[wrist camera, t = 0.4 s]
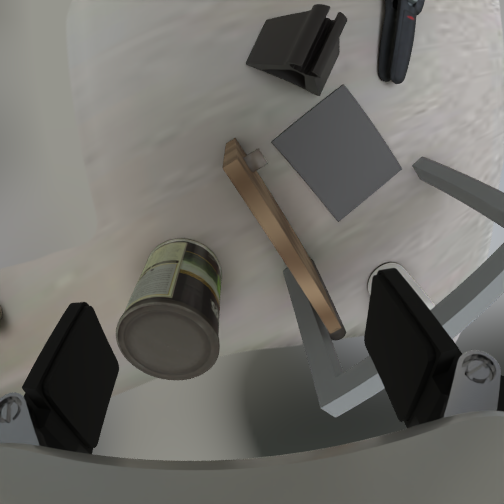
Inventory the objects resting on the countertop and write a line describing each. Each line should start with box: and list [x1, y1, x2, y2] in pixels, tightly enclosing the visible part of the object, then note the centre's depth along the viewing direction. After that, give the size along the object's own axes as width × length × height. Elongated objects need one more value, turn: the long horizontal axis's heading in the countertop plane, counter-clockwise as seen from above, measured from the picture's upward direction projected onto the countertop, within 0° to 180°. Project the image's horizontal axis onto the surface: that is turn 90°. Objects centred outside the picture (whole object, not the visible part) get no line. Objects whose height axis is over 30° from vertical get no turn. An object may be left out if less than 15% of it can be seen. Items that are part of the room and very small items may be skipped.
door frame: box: [283, 157, 504, 417], centre depth 30 cm, size 24×2×22 cm, turn 132°
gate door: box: [223, 138, 346, 340], centre depth 32 cm, size 19×3×14 cm, turn 32°
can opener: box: [378, 0, 425, 84], centre depth 26 cm, size 18×7×6 cm, turn 170°
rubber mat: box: [272, 85, 402, 222], centre depth 36 cm, size 11×13×1 cm
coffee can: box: [116, 239, 222, 380], centre depth 35 cm, size 10×10×14 cm
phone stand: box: [246, 4, 347, 96], centre depth 25 cm, size 9×6×12 cm, turn 67°
